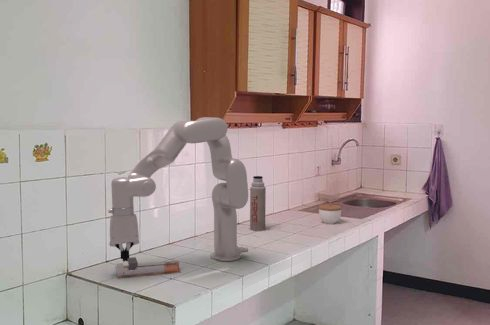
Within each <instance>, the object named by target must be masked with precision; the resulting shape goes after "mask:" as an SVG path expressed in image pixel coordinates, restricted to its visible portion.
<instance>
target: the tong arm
mask: <svg viewBox="0 0 490 325" xmlns="http://www.w3.org/2000/svg"><path fill="white" fill-rule="evenodd" d="M167 264H177V265H178V269H180V262H179V260H172V261H171V260H169V261H160V262H158V261H157V262H149V263H148V262H146V263H138V267H145V266H156V265H167ZM127 265H128V264H127ZM128 268H129V265H128ZM132 268H134V267H132Z"/></svg>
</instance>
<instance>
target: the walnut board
mask: <svg viewBox="0 0 490 325" xmlns="http://www.w3.org/2000/svg"><path fill="white" fill-rule="evenodd" d="M123 268H128V264H127V265H123ZM115 270H116V272H117V269H116V268H115ZM169 274H170V275H171V274H173V275H174V274H182V270H180V268H179V269H178V272H169V273H157V274H147V275H136V276H125V277H118V276H117V279H127V278H129V279H130V278H139V277H150V276H159V275H161V276H162V275H169Z"/></svg>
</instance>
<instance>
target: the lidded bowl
mask: <svg viewBox="0 0 490 325" xmlns="http://www.w3.org/2000/svg"><path fill="white" fill-rule="evenodd" d="M342 209H343V207H342V205H338V204H332V202H329V203H327V204H320V205H318V215H319V218H320V220H321V221H322V222H323V224H327V225H334V224H337V222H338V221H339V220H340V219H341V216H342Z"/></svg>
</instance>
